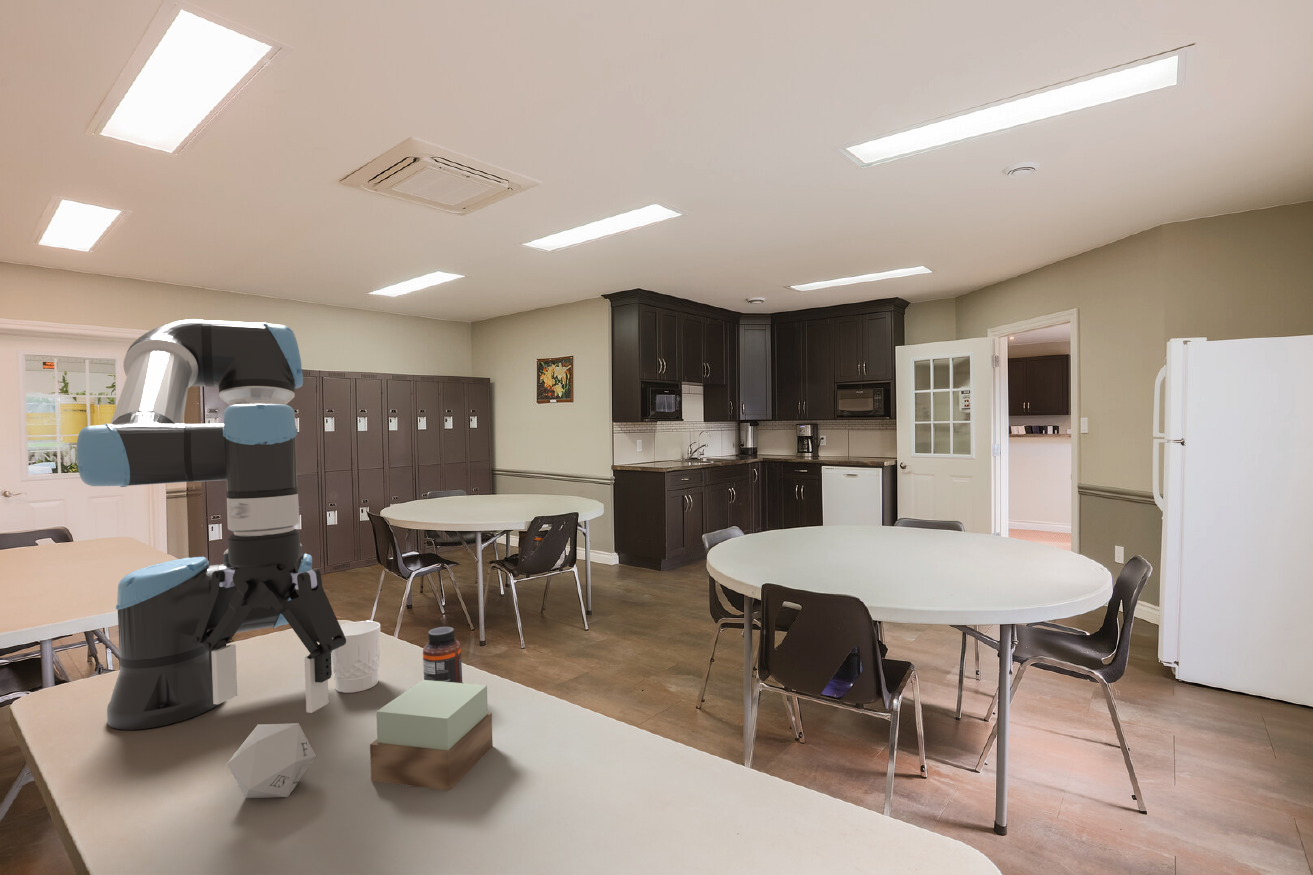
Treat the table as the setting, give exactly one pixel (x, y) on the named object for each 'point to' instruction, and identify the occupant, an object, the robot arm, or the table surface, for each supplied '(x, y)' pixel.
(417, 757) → the walnut slab
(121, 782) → the table surface
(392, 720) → the sage block
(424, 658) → the supplement bottle
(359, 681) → the white cup
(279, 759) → the die
